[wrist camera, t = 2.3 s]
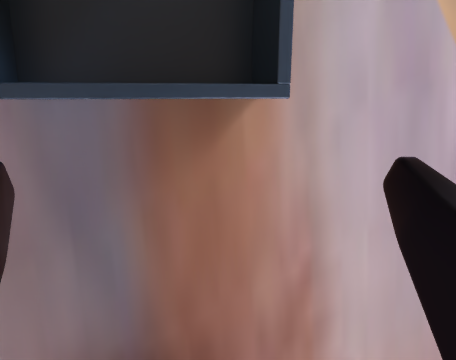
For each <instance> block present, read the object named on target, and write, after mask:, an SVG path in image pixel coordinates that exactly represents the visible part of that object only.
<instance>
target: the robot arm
mask: <svg viewBox="0 0 456 360" xmlns="http://www.w3.org/2000/svg"><path fill="white" fill-rule="evenodd" d="M383 188H384V193H385V197H386V200H387V204H388V208H389V212H390V216H391V219H392V223H393V227H394V231H395V234H396V238H397V241H398V244H399V247H400V250H401V252H402V255H403V258H404V260H405V263H406V265H407V268H408V271H409V273H410V276H411V278H412V281H413V284H414V286H415V289H416V291H417V294H418V297H419V299H420V302H421V304H422V307H423V310H424V312H425V315H426V317H427V320H428V323H429V325H430V328H431V331H432V333H433V336H434V338H435V341H436V344H437V346H438V349H439V351H440V354H441V357H442V359H443V360H456V184H455V183H453V182H452V181H450V180H449V179H447V178H446V177H444V176H443V175H441V174H440V173H438V172H437V171H435V170H434V169H432V168H431V167H430V166H428V165H427V164H425V163H424V162H422V161H421V160H419V159H418V158H416V157H399V158H398V159H396V160H395V162H394V164H393V165H392V167H391V169H390V170H389V172H388V174H387V175H386V177H385V179H384V182H383ZM14 197H15V194H14V188H13V185H12V183H11V180H10V178H9V176H8V173H7V171H6V168H5V166H4V165H3V163H2V162H0V282H1V279H2V275H3V271H4V267H5V263H6V257H7V250H8V243H9V235H10V228H11V221H12V213H13V206H14Z"/></svg>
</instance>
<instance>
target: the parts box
mask: <svg viewBox="0 0 456 360" xmlns="http://www.w3.org/2000/svg"><path fill="white" fill-rule="evenodd" d="M293 8H294V0H0V99H288V98H289V97H290V80H291V56H292V32H293Z"/></svg>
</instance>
